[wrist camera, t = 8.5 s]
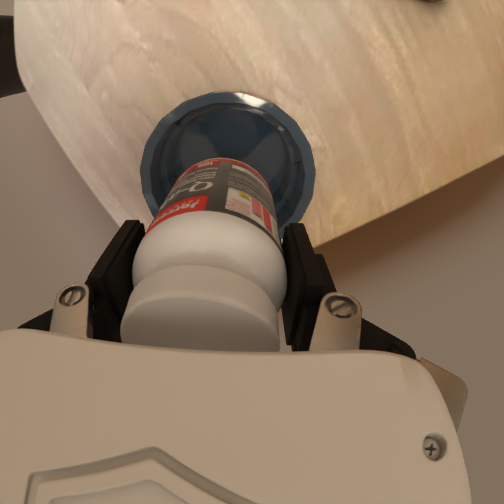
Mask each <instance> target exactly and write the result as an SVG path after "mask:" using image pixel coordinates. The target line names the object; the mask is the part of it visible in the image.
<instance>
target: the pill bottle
mask: <svg viewBox="0 0 504 504" xmlns="http://www.w3.org/2000/svg"><path fill="white" fill-rule="evenodd" d="M132 280H133V287H134V290H133V291H132V293H131V295H130V298H129V301H128V304H127V307H126V310H125V313H124V316H123V319H122V322H121V327H120V335H121V340H122V343H126V344H134V345H144V346H153V347H164V348H176V349H190V350H208V351H234V352H279V350H280V339H279V329H278V319H277V313H278V311H279V310H280V308H281V306H282V304H283V302H284V299H285V296H286V291H287V269H286V263H285V258H284V253H283V248H282V242H281V237H280V232H279V227H278V222H277V217H276V212H275V207H274V202H273V198H272V194H271V191H270V189H269V187H268V185H267V183H266V182H265V180H264V179H263V177H262V176H261V175H260V174H259V173H258V172H257V171H256V170H254V169H253V168H252V167H250V166H249V165H247V164H245V163H243V162H240V161H237V160H234V159H228V158H213V159H208V160H204V161H201V162H199V163H197V164H195V165H193V166H191V167H190V168H189V169H187V170H186V171H185V172H184V173H183V174H182V175H181V176H180V177H179V179H178V180H177V181H176V183H175V184H174V186H173V187H172V189H171V191H170V192H169V194H168V196H167V197H166V199H165V201H164V202H163V204H162V206H161V207H160V209H159V211H158V213H157V214H156V216H155V218H154V219H153V221H152V223H151V225H150V226H149V228H148V230H147V232H146V233H145V235H144V237H143V239H142V240H141V242H140V244H139V247H138V249H137V252H136V254H135V257H134V261H133V267H132Z"/></svg>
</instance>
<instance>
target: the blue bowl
mask: <svg viewBox="0 0 504 504" xmlns="http://www.w3.org/2000/svg"><path fill="white" fill-rule="evenodd" d="M213 158H228V159H234V160H237V161H240V162H243V163H245V164H247V165H249V166H250V167H252V168H253V169H254V170H256V171H257V172H258V173H259V174H260V175H261V176H262V177H263V179H264V180H265V182H266V183H267V185H268V187H269V189H270V191H271V194H272V198H273V202H274V207H275V212H276V217H277V222H278V227H279V232H280V237H281V239H282V238H283V234H284V227H285V226H289V224H290V223H298V222H299V221H300V220H301V219H302V217H303V215H304V213H305V211H306V209H307V207H308V205H309V203H310V201H311V199H312V196H313V189H314V181H315V174H316V170H315V165H314V160H313V155H312V150H311V146H310V144H309V142H308V140H307V139H306V137H305V135H304V134H303V132H302V130H301V129H300V127H299V126H298V124H297V122H296V121H295V120H294V119H292V118H291V117H290V116H289V115H288V114H286V113H285V112H284V111H283V110H281V109H280V108H279V107H278V106H276V105H275V104H274V103H272V102H271V101H269V100H267V99H265V98H263V97H260V96H257V95H254V94H251V93H249V92H246V91H216V92H211V93H208V94H205V95H202V96H199V97H196V98H193V99H190V100H187V101H185V102H183V103H181V104H180V105H179V106H177V107H176V108H175V109H174V110H172V111H171V112H170V113H168V114H167V115H166V116H165V117H163V118H162V119H161V120H160V122H159V123H158V125H157V126H156V128H155V129H154V131H153V133H152V134H151V136H150V137H149V139H148V140H147V143H146V145H145V149H144V153H143V157H142V162H141V166H140V174H141V184H142V193H143V195H144V198H145V200H146V202H147V204H148V207H149V209H150V211H151V213H152V215H153V217H154V218H155V216H156V214H157V213H158V211H159V209H160V207H161V206H162V204H163V202H164V201H165V199H166V197H167V196H168V194H169V192H170V191H171V189H172V187H173V186H174V184H175V183H176V181H177V180H178V179H179V177H180V176H181V175H182V174H183V173H184V172H185V171H186V170H187V169H189V168H190V167H191V166H193V165H195V164H197V163H199V162H201V161H204V160H208V159H213Z"/></svg>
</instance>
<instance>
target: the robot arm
mask: <svg viewBox="0 0 504 504" xmlns="http://www.w3.org/2000/svg"><path fill="white" fill-rule="evenodd" d="M144 235H145V228H144V224H143V223H140V221H139V220H126V221H125V222H124V223H123V225H122V226H121V228H120V229H119V231H118V232H117V233H116V235H115V236H114V238H113V239H112V241H111V242H110V243H109V245H108V246H107V248H106V249H105V251H104V253H103V254H102V255H101V257H100V258H99V260H98V261H97V263H96V265H95V266H94V268H93V269H92V271H91V272H90V274H89V276H88V279H87V280H86V282H85V284H83V283H73V284H70V285H67V286H66V287H64V288H63V289H61V290H60V291H59V293H58V294H57V296H56V299H55V304H54V308H53V309H51V310H49V311H47V312H45V313H43V314H42V315H39V316H37V317H36V318H34V319H32V320H30V321H28V322H27V323H24V324H23V325H21V326H20V327H18V328H17V329H11V330H6V331H1V332H0V504H472V501H471V494H470V487H469V482H468V476H467V472H466V467H465V463H464V459H463V455H462V451H461V448H460V444H459V441H458V437H457V434H456V433H457V430H458V427H459V424H460V421H461V417H462V414H463V410H464V406H465V403H466V399H467V393H468V390H467V386H466V384H465V382H464V381H463V380H462V379H461V378H459V377H458V376H456V375H454V374H452V373H450V372H448V371H447V370H444V369H443V368H441V367H439V366H437V365H435V364H433V363H431V362H430V361H428V360H426V359H424V358H421V359H420V360H419V359H417V358H416V355H415V352H414V350H413V349H412V348H411V347H410V346H409V345H408V344H407V343H405V342H403V341H402V340H400V339H398V338H396V337H395V336H393V335H391V334H390V333H388V332H386V331H384V330H382V329H381V328H379V327H377V326H375V325H374V324H372V323H370V322H369V321H367V320H365V319H363V318H362V309H361V305H360V303H359V302H358V301H357V300H356V299H355V298H354V297H353V296H351V295H349V294H346V293H342V292H337V291H336V288H335V286H334V283H333V280H332V278H331V275H330V272H329V270H328V267H327V265H326V262H325V259H324V257H323V255H322V254H314V251H313V248H312V245H311V242H310V240H309V237H308V234H307V232H306V229H305V226H304V224H303V223H290V224H289V226H285V227H284V234H283V243H282V248H283V253H284V258H285V263H286V269H287V291H286V296H285V299H284V302H283V304H282V306H281V309H282V316H283V323H284V331H285V338H286V344H287V345H291V347H292V352H234V351H208V350H190V349H176V348H164V347H153V346H144V345H134V344H126V343H122V340H121V335H120V327H121V322H122V319H123V316H124V313H125V310H126V307H127V304H128V301H129V298H130V295H131V293H132V291H133V290H134V287H133V280H132V267H133V261H134V257H135V254H136V252H137V249H138V247H139V244H140V242H141V240H142V239H143V237H144Z"/></svg>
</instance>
